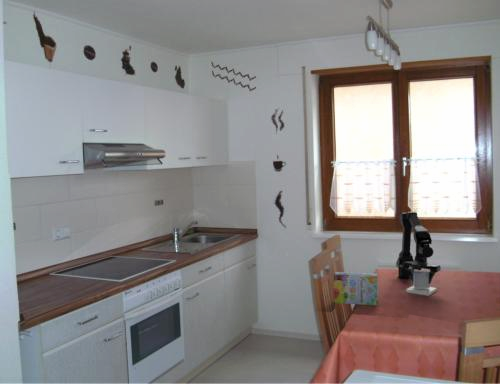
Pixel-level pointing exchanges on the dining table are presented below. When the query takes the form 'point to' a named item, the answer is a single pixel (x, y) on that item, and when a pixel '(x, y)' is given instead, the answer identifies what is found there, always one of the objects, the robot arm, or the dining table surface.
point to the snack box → (356, 288)
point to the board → (421, 290)
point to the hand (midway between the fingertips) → (421, 282)
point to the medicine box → (421, 279)
